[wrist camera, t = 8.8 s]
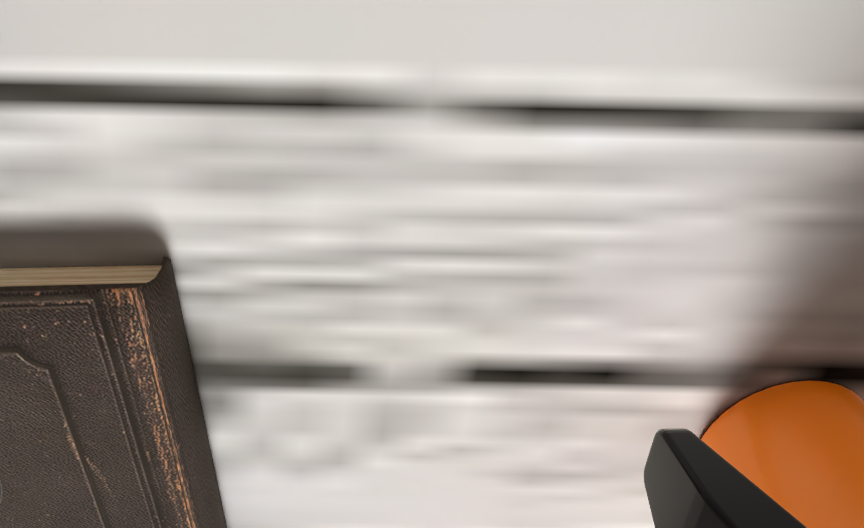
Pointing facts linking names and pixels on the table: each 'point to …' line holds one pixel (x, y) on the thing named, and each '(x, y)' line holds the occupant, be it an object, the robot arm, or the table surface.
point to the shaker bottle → (800, 449)
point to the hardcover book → (100, 403)
